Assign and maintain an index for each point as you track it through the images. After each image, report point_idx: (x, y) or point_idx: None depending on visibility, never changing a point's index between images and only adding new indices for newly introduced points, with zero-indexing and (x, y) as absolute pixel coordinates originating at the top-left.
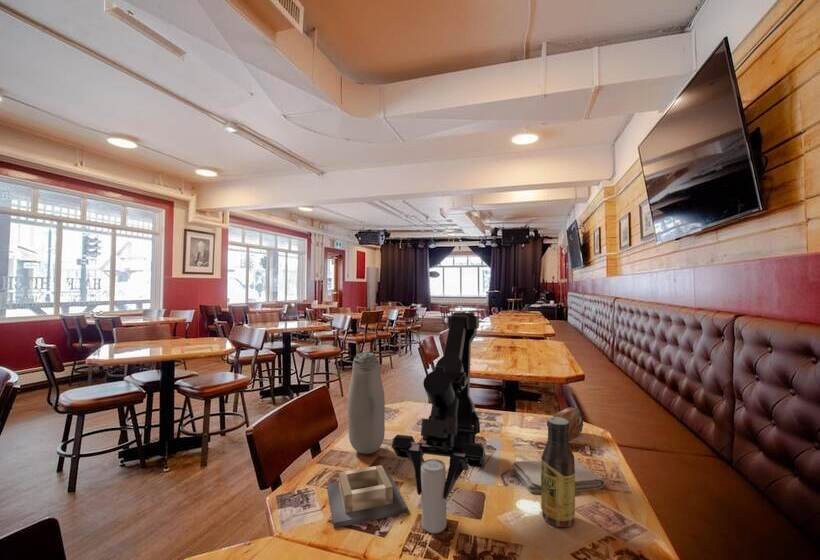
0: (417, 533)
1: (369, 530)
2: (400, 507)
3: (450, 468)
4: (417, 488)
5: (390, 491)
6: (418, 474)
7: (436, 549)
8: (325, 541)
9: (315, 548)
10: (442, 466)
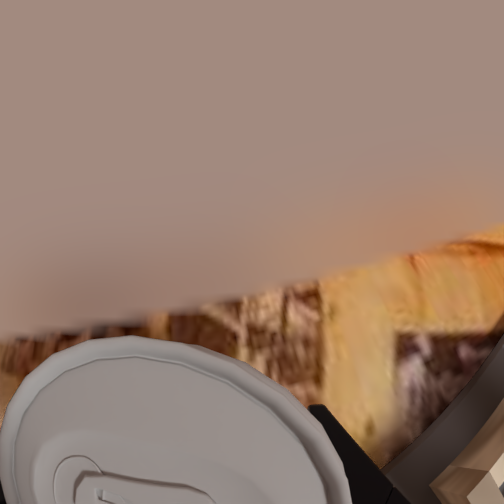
0: (292, 386)
1: (447, 344)
2: (395, 478)
3: (1, 488)
4: (331, 419)
5: (462, 485)
6: (359, 490)
7: (208, 321)
8: (501, 266)
9: (499, 241)
10: (23, 472)
